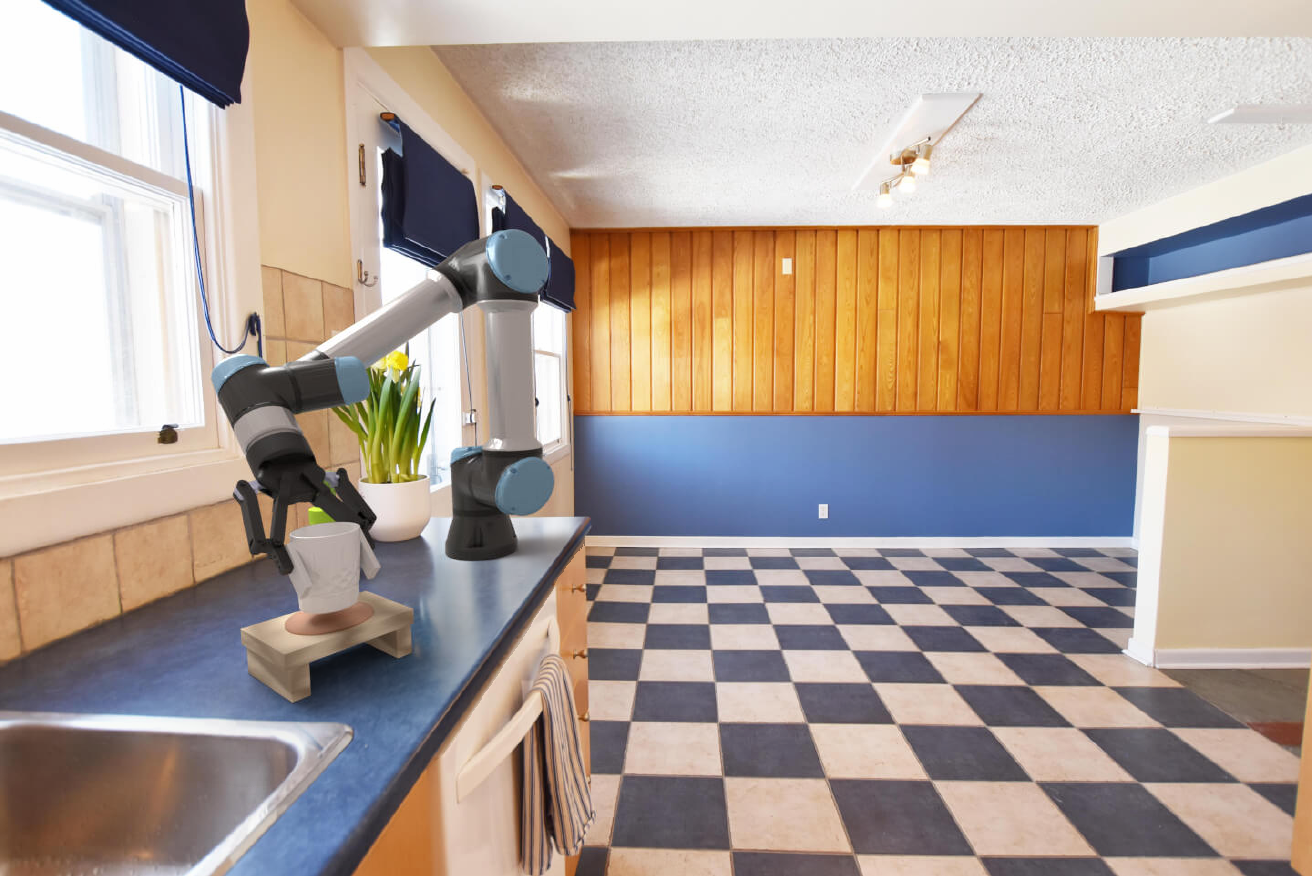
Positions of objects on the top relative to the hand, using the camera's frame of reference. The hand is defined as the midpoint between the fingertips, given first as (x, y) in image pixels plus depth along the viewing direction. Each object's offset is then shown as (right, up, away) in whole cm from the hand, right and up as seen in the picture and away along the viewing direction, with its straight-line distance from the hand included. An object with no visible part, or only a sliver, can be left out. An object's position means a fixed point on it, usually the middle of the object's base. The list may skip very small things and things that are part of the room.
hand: (341, 582), depth 73 cm
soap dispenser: (-22, -8, +37) cm, 44 cm away
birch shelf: (-3, -11, +3) cm, 12 cm away
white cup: (-3, -4, +2) cm, 5 cm away
